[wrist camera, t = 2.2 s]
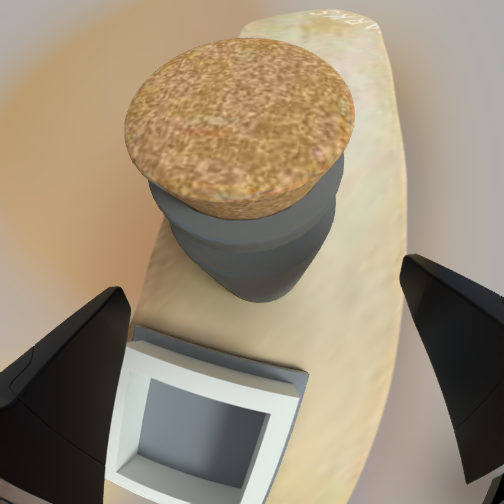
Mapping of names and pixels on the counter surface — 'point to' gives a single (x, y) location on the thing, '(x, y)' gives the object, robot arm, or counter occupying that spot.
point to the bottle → (244, 157)
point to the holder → (199, 422)
